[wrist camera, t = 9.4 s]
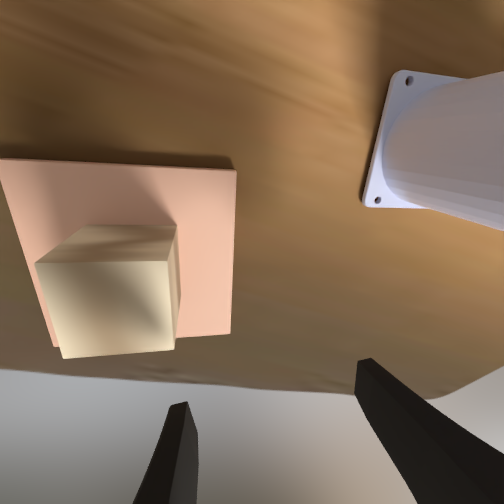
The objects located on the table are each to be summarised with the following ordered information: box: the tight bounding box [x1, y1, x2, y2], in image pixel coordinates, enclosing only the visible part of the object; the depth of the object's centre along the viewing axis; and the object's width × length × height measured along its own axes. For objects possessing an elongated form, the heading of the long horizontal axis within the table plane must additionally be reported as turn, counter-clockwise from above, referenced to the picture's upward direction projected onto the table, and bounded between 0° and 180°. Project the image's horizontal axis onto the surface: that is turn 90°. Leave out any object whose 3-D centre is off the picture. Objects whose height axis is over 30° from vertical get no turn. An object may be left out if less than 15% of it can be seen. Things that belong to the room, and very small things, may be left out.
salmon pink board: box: [0, 158, 237, 347], centre depth 16 cm, size 12×12×1 cm
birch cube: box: [34, 224, 181, 359], centre depth 14 cm, size 5×5×5 cm
